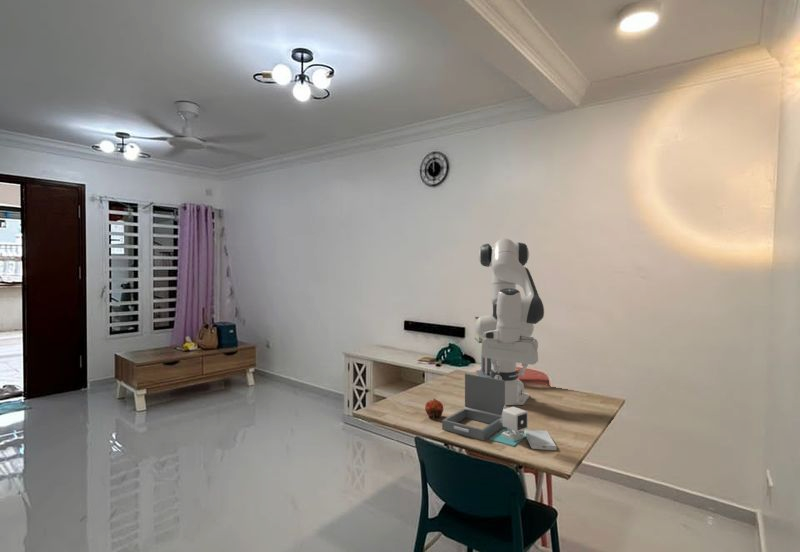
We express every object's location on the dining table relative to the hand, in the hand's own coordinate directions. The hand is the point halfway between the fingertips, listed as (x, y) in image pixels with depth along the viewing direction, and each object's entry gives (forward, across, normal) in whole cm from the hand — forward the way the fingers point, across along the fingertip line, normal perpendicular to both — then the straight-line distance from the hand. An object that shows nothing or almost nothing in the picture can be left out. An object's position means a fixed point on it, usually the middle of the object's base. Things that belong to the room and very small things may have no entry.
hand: (508, 373), depth 153 cm
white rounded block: (+23, -2, 0) cm, 23 cm away
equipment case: (+23, +14, 0) cm, 27 cm away
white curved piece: (+24, +40, -71) cm, 85 cm away
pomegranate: (+23, +32, -1) cm, 40 cm away
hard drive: (+23, -10, -3) cm, 25 cm away
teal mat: (+23, 0, 0) cm, 23 cm away
